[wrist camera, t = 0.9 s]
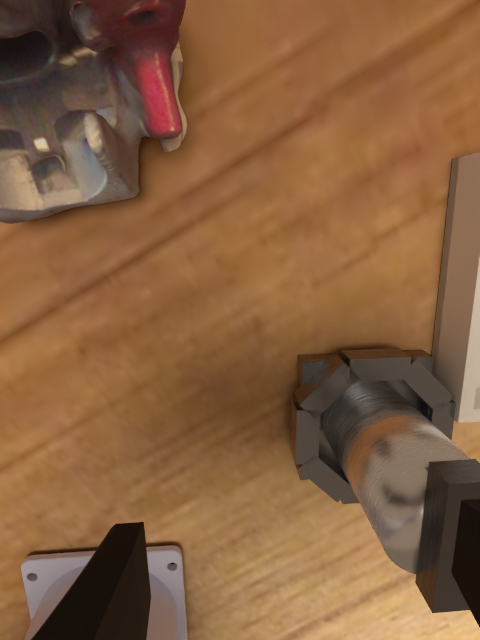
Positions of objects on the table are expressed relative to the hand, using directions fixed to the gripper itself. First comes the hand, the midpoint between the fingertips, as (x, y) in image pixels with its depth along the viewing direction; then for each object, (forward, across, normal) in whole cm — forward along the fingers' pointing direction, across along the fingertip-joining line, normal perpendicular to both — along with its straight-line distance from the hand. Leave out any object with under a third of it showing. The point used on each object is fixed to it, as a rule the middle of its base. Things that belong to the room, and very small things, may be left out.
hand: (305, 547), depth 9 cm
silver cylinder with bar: (+9, -5, +2) cm, 10 cm away
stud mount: (+10, -5, +2) cm, 11 cm away
